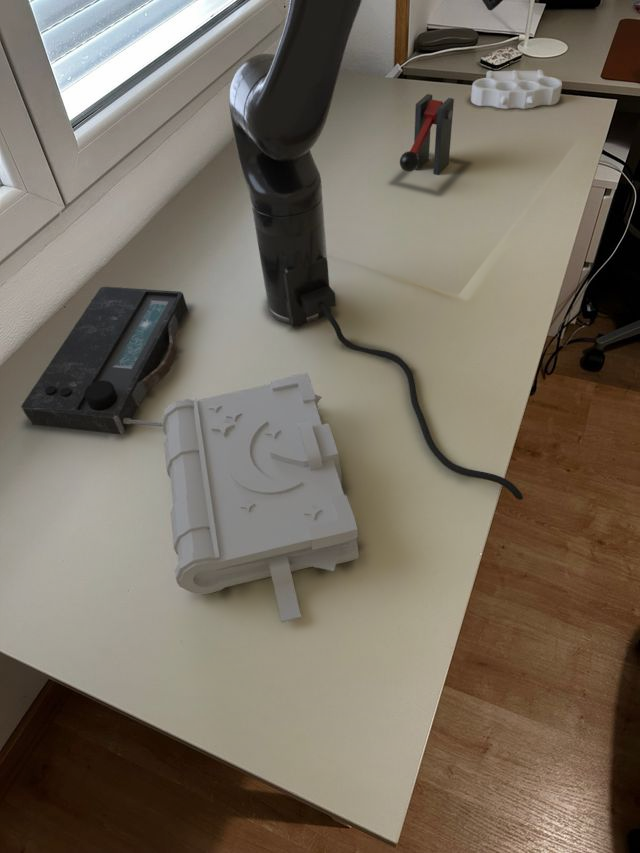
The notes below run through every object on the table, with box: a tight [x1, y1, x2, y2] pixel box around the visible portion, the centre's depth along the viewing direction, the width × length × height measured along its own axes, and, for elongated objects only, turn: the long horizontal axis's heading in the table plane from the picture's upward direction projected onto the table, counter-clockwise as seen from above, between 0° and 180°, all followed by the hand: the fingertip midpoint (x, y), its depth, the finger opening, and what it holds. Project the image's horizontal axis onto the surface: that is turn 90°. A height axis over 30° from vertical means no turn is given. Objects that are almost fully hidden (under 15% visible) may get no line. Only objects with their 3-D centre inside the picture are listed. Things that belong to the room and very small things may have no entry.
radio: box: [20, 286, 189, 435], centre depth 88 cm, size 25×4×20 cm
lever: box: [399, 98, 444, 173], centre depth 110 cm, size 13×3×3 cm, turn 148°
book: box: [161, 372, 360, 623], centre depth 69 cm, size 19×28×8 cm
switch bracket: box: [413, 93, 455, 176], centre depth 114 cm, size 12×9×13 cm
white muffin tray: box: [470, 69, 563, 110], centre depth 136 cm, size 3×18×15 cm
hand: (487, 3), depth 86 cm, fingers closed
